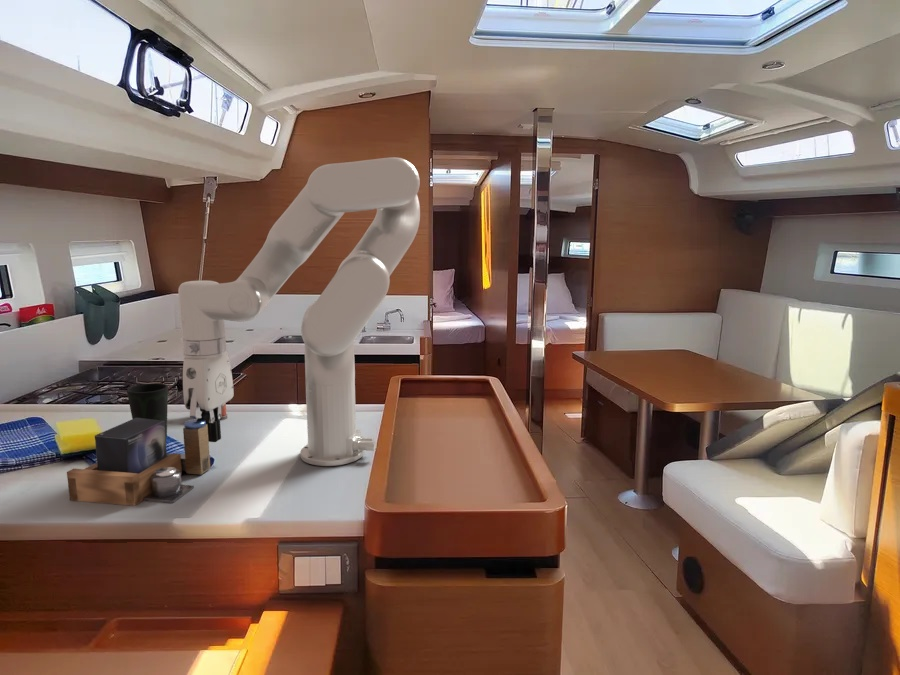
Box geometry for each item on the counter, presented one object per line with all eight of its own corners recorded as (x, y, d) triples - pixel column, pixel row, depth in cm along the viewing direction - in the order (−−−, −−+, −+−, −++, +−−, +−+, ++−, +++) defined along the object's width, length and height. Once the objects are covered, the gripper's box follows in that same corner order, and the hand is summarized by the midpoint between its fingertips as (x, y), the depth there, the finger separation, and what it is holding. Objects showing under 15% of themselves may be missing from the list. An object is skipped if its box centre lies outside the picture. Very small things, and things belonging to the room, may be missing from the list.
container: (212, 467, 113) (209, 419, 112) (202, 475, 110) (198, 425, 108) (144, 462, 116) (139, 415, 114) (131, 469, 112) (126, 421, 110)
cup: (142, 452, 122) (137, 394, 120) (125, 443, 126) (119, 388, 124) (179, 441, 128) (174, 387, 126) (160, 434, 132) (156, 381, 130)
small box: (131, 497, 102) (125, 438, 100) (97, 494, 103) (91, 435, 101) (170, 472, 112) (166, 418, 110) (139, 470, 113) (134, 416, 111)
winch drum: (193, 487, 105) (192, 465, 105) (172, 503, 99) (170, 479, 99) (162, 485, 106) (160, 462, 105) (140, 500, 100) (137, 476, 100)
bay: (182, 474, 111) (180, 448, 110) (134, 505, 98) (132, 477, 97) (123, 469, 113) (121, 444, 112) (69, 500, 100) (66, 471, 99)
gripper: (200, 356, 105) (207, 456, 108) (243, 340, 119) (248, 428, 122) (161, 354, 106) (169, 453, 109) (208, 339, 120) (214, 426, 124)
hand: (211, 440), depth 116 cm, fingers closed
